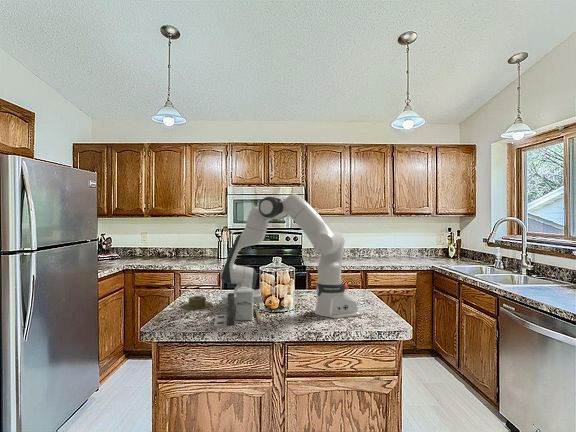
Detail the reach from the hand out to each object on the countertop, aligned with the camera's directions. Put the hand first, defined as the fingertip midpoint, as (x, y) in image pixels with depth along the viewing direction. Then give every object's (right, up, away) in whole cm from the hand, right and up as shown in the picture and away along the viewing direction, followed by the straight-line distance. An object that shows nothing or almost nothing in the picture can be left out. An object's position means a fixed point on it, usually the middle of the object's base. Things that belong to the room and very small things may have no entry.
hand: (244, 302), depth 165 cm
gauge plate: (-9, -6, -10) cm, 15 cm away
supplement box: (+1, -6, -4) cm, 7 cm away
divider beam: (+1, -6, -3) cm, 7 cm away
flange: (-26, -7, +18) cm, 33 cm away
